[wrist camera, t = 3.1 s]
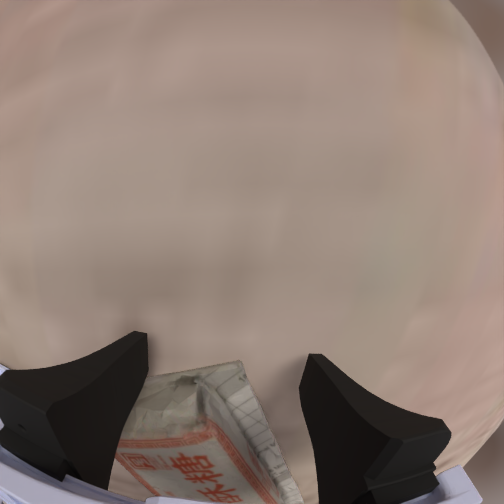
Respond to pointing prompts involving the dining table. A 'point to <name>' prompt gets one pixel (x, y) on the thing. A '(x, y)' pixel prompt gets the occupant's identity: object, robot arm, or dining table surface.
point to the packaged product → (205, 440)
